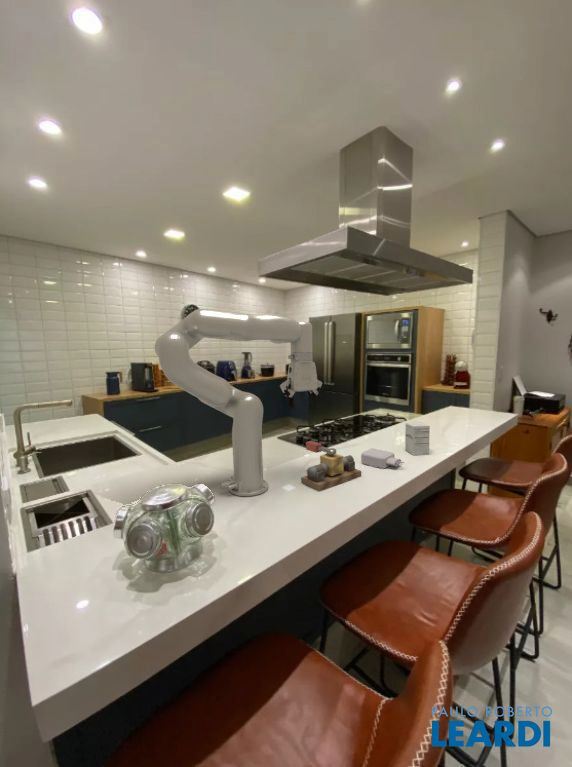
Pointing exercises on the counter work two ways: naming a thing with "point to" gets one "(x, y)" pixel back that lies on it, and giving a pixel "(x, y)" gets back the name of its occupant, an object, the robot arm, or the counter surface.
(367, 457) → the charger
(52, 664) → the counter surface
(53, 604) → the counter surface
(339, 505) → the counter surface
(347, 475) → the pipe board
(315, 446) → the valve lever
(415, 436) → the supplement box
